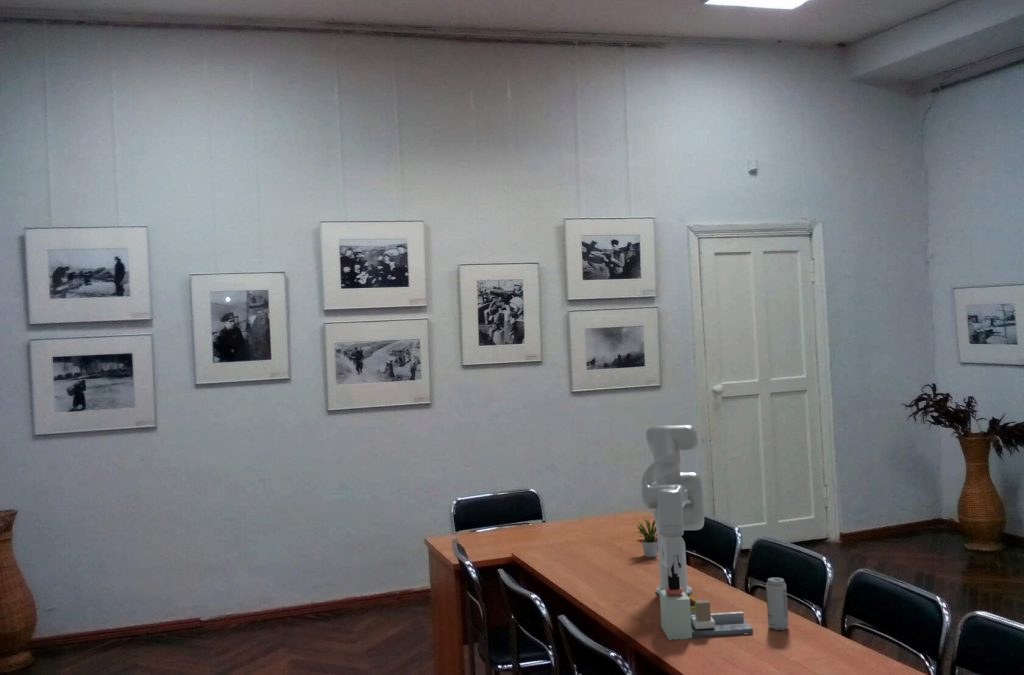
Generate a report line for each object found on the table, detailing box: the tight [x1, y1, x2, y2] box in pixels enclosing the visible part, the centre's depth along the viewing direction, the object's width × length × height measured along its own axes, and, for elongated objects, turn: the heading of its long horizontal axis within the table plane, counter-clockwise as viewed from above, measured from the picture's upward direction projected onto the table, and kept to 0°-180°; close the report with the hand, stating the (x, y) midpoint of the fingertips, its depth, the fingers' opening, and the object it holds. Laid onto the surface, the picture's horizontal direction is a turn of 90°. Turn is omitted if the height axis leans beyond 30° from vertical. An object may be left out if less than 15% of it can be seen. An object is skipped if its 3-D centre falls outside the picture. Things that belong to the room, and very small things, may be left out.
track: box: [691, 611, 754, 638], centre depth 269 cm, size 9×19×4 cm, turn 92°
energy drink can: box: [765, 576, 789, 631], centre depth 268 cm, size 6×6×15 cm
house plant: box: [636, 517, 659, 558], centre depth 363 cm, size 14×14×16 cm
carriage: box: [692, 599, 715, 629], centre depth 269 cm, size 5×6×8 cm
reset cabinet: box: [659, 590, 692, 641], centre depth 268 cm, size 11×7×12 cm, turn 2°
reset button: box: [666, 587, 683, 597], centre depth 268 cm, size 5×5×6 cm
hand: (674, 588), depth 268 cm, fingers closed
